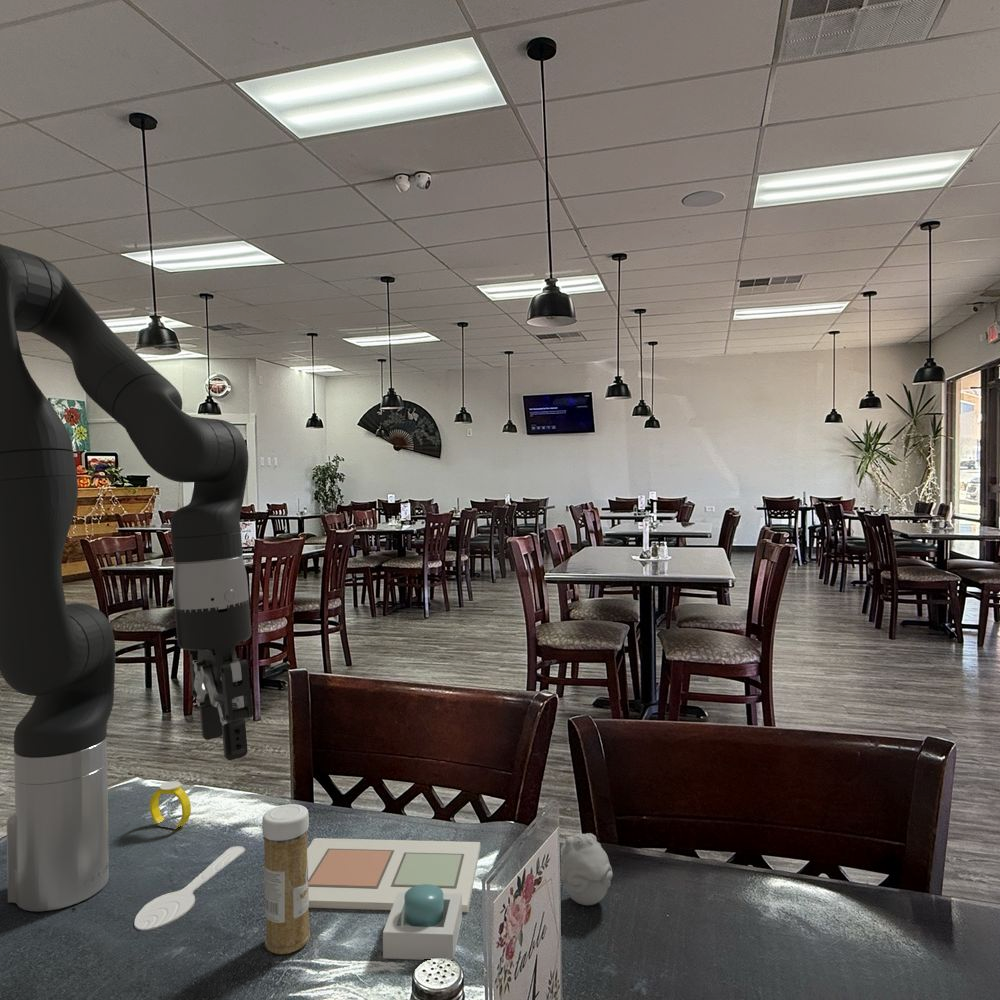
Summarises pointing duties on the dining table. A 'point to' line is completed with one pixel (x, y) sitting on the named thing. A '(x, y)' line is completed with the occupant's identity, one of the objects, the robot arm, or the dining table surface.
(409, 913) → the button
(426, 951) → the button housing
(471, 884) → the picture board
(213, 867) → the spoon
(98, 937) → the dining table surface
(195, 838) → the dining table surface
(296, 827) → the sprinkles bottle
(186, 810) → the watch
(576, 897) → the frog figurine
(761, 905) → the dining table surface
